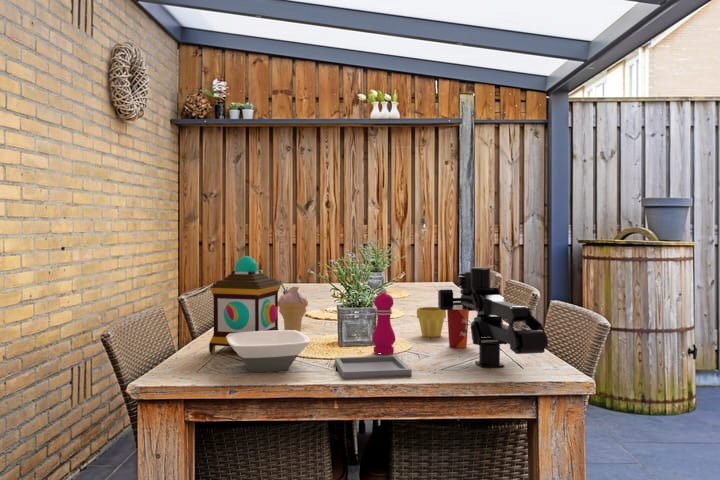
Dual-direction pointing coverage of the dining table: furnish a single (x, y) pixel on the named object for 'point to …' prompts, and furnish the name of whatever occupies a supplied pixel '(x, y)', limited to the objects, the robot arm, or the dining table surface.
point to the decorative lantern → (244, 302)
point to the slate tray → (372, 367)
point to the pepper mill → (383, 324)
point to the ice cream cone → (292, 308)
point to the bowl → (268, 348)
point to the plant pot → (431, 321)
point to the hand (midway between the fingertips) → (458, 296)
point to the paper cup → (458, 326)
